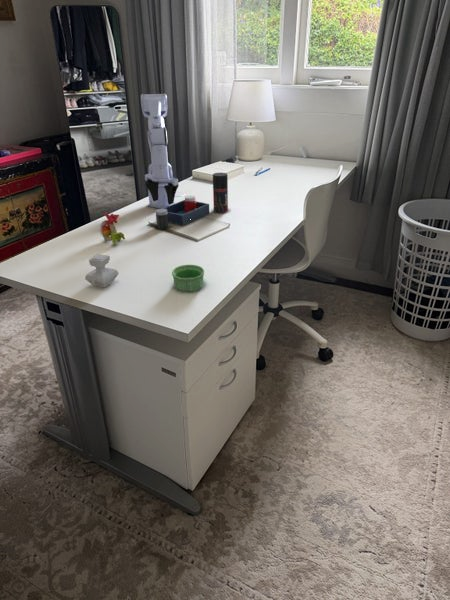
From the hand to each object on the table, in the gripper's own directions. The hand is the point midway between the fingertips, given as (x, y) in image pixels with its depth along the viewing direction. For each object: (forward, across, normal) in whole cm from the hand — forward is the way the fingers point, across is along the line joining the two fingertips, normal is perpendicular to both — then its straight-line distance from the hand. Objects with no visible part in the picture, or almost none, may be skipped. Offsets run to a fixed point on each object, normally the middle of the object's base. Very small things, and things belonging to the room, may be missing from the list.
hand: (163, 202), depth 157 cm
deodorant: (+10, +7, +27) cm, 29 cm away
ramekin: (+10, +38, -32) cm, 51 cm away
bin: (+9, -1, +13) cm, 16 cm away
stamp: (+10, +17, -45) cm, 49 cm away
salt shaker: (+9, -1, +17) cm, 19 cm away
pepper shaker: (+9, 0, -1) cm, 9 cm away
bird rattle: (+10, -5, -22) cm, 25 cm away
